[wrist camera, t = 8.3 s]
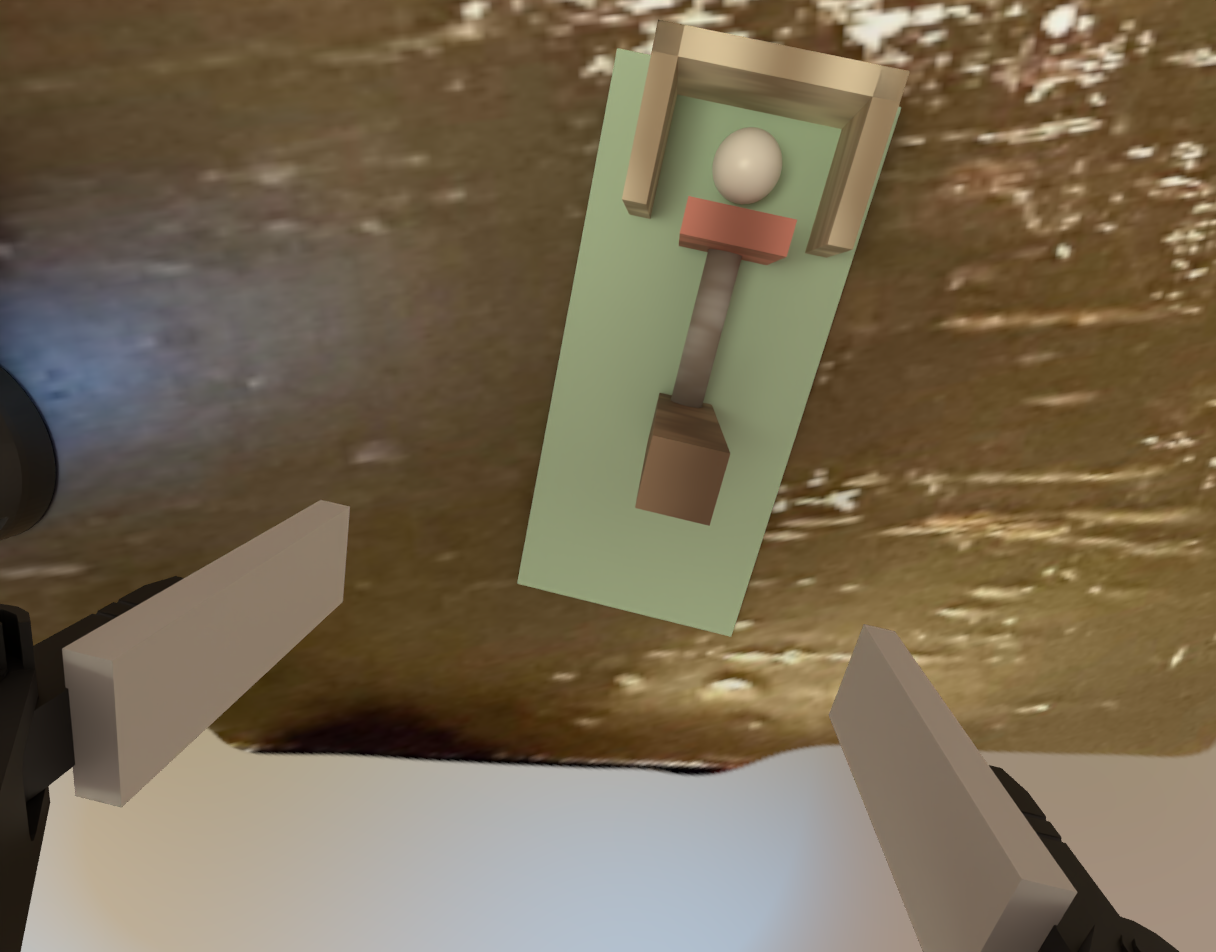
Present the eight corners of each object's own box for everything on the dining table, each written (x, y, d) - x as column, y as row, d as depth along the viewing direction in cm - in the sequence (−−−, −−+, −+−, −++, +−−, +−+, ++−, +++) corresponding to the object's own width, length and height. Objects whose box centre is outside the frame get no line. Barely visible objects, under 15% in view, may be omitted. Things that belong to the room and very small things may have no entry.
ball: (723, 116, 30) (706, 189, 32) (722, 124, 28) (703, 203, 30) (790, 131, 30) (767, 202, 32) (795, 140, 27) (770, 218, 30)
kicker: (632, 439, 36) (614, 502, 25) (685, 215, 32) (692, 165, 21) (712, 458, 36) (730, 530, 24) (775, 234, 32) (831, 195, 20)
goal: (629, 214, 33) (621, 199, 28) (660, 64, 31) (658, 19, 26) (826, 257, 32) (852, 249, 28) (872, 108, 30) (909, 71, 25)
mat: (518, 580, 40) (517, 583, 40) (617, 51, 31) (617, 48, 31) (730, 633, 40) (731, 636, 39) (898, 109, 30) (901, 107, 30)
